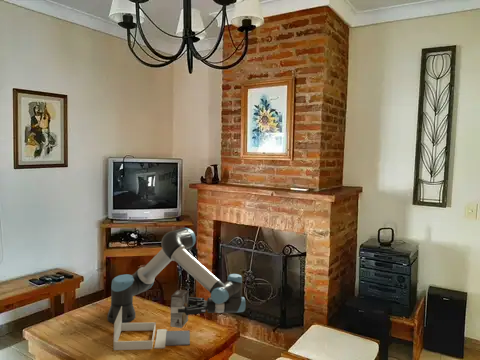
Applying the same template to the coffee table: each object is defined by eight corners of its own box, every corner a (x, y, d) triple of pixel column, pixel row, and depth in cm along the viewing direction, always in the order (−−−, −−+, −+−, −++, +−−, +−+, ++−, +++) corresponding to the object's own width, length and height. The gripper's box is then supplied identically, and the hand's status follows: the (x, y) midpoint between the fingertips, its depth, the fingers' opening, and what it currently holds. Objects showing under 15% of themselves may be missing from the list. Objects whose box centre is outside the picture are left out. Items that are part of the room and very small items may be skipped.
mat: (166, 332, 197) (166, 331, 197) (189, 331, 199) (189, 330, 199) (165, 345, 183) (165, 344, 183) (189, 344, 185) (189, 343, 185)
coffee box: (176, 319, 195) (177, 289, 194) (188, 320, 194) (189, 290, 193) (169, 326, 186) (170, 295, 185) (182, 328, 185) (183, 296, 184)
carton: (120, 330, 196) (121, 306, 196) (166, 329, 200) (167, 305, 199) (113, 350, 177) (114, 323, 176) (164, 348, 180) (165, 322, 179)
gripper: (216, 321, 181) (170, 322, 178) (213, 303, 204) (172, 304, 200) (217, 306, 181) (170, 307, 178) (213, 290, 203) (172, 290, 200)
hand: (171, 305), depth 189 cm, fingers closed on coffee box, 10 cm apart
